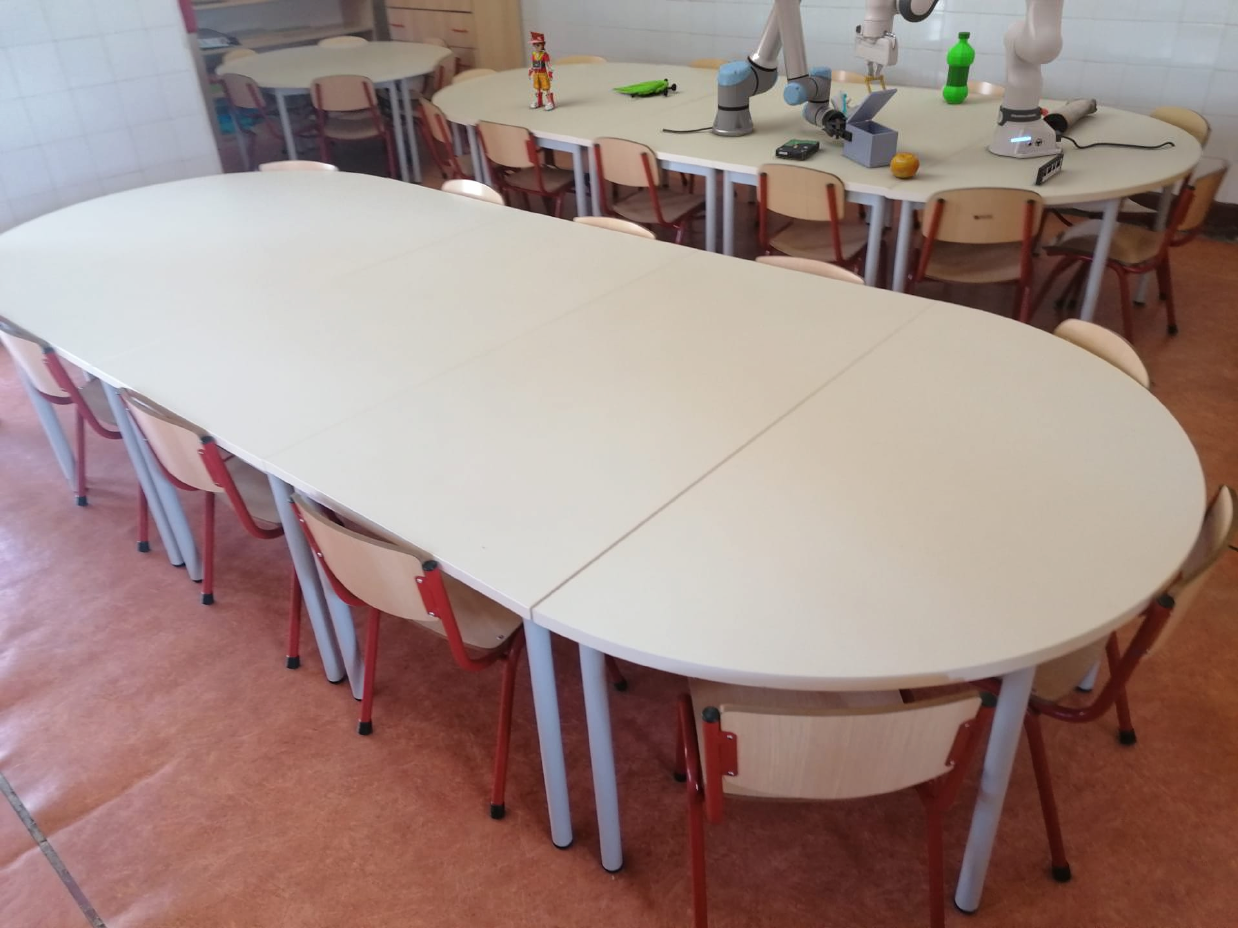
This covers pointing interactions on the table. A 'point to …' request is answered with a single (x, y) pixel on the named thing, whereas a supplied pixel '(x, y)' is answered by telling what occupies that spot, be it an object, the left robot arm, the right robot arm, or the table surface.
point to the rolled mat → (1070, 113)
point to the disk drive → (797, 149)
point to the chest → (871, 143)
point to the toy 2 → (648, 88)
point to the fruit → (904, 165)
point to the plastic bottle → (958, 69)
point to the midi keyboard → (1049, 169)
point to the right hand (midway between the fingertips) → (873, 76)
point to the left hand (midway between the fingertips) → (864, 135)
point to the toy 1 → (541, 71)
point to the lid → (871, 102)
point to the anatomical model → (843, 104)
